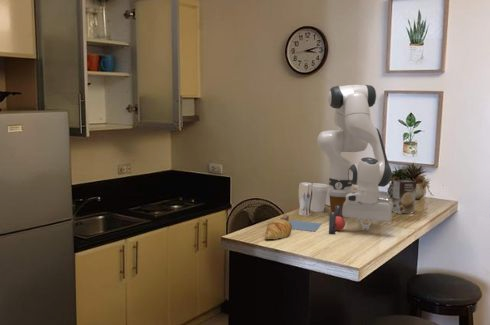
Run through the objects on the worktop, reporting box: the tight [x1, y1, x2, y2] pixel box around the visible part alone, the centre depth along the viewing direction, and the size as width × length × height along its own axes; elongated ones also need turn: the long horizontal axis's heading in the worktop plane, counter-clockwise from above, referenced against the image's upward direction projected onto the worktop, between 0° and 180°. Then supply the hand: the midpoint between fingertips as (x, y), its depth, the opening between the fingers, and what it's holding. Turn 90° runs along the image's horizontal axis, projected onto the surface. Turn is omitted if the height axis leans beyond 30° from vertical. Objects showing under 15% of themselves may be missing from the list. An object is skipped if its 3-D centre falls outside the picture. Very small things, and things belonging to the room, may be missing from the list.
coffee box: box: [391, 179, 417, 215], centre depth 254 cm, size 9×6×16 cm
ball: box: [335, 216, 346, 231], centre depth 219 cm, size 6×6×6 cm
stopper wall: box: [279, 215, 290, 222], centre depth 228 cm, size 12×2×2 cm, turn 160°
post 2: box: [335, 205, 341, 217], centre depth 226 cm, size 3×3×9 cm
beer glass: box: [298, 181, 314, 217], centre depth 246 cm, size 7×7×15 cm
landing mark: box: [288, 220, 322, 233], centre depth 225 cm, size 14×14×1 cm
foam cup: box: [311, 182, 329, 213], centre depth 254 cm, size 10×9×13 cm
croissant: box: [264, 218, 292, 240], centre depth 210 cm, size 21×10×8 cm, turn 151°
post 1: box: [328, 211, 336, 235], centre depth 214 cm, size 3×3×9 cm
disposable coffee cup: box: [329, 189, 348, 218], centre depth 245 cm, size 10×10×12 cm
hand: (365, 229), depth 216 cm, fingers closed
